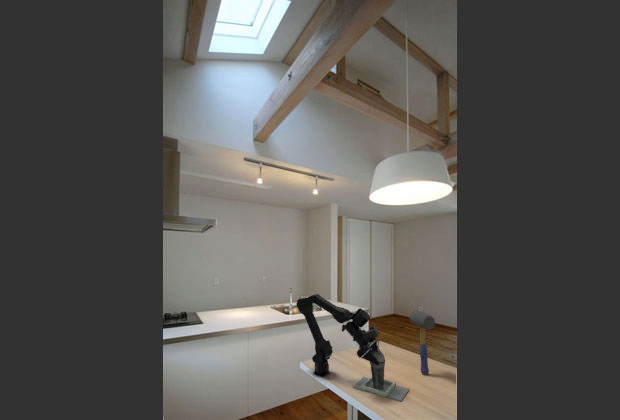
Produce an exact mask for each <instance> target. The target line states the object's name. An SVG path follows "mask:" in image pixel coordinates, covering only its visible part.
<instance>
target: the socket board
mask: <svg viewBox="0 0 620 420" xmlns="http://www.w3.org/2000/svg"><path fill="white" fill-rule="evenodd" d="M352 388H353V389H356V390H359V391H362V392H366V393H369V394H373V395H376V396H379V397H382V398H386V399H389V400H393V401H397V402H400V403H401V402H402V401H403V400H404V399H405V397H406V396H407V394H408V392H409V391H410V388H407V387H404V386H400V385H397V383H396V381H393V380H387V379H385V378H384V386H383V389H375V388H374V387H373V381H372V375H371V376H369V377H366V376H363V377H362V378H361V379H359V380H358V381H357V382H356V383H354V385H352Z"/></svg>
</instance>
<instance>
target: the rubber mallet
mask: <svg viewBox="0 0 620 420" xmlns="http://www.w3.org/2000/svg"><path fill="white" fill-rule="evenodd" d="M409 321H410V322H411V324H413V325H415V326H417V327H419V335H420V336H419V337H420V338H419V339H420V344H419V357H420V358H419V359H420V373H421V374H422V375H425V376H428V375H429V373H430V370H429V364H428V356H429V353H428V345H427V340H426V337H427V336H426V330H428V331H431V330H432V329H434V327H435V325H436V321H435V319H434V317H433V316H432V315H430V314H427V313H425V312H422V311H417V310H413V311H411V313H410V314H409Z"/></svg>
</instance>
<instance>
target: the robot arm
mask: <svg viewBox="0 0 620 420" xmlns="http://www.w3.org/2000/svg"><path fill="white" fill-rule="evenodd" d="M314 304H316V305H317V306H318V307H320V308H321V309H323V310H325V311H326V312H327V313H328V314H331V316H332V317H333V319H334V320H335V321H336V322H337V323H338V324H342V325H341V332H343V333H344V331H346V332H347V333H348V334H349V335H350V337H352V341H353V342H355V343H356V344H357V345H358V349H357V350H356V357H358V358H359V359H360V358H361V359H363V360H366V361H368V362H369V363H370V362H372V363H374V364H376V365H379V362H378V361H377V359H376V358H375V356H374V355H373V353H372V352H373V351H375V350H378V337H379V335H380V333H379V329H378V328H377V327H376V326H374V325H372V326H370V327H369V329H368V330H367V331H366V330H365V329H362V328H363V327H364V326H365V325H366V324H367V323H368V322H369V321H370V320H371V316H370V314H369V313H368V312H366V310H364V309H362V308H361V307H360V308H358V309H357V310H356V312H351V311H350V310H349V309H347V308H345V307H342V306H337V305H336V304H334V303H332V302H330V301H329V300H327V299H325V298H324V297H322V296H321V295H320V294H318V293H316V294H312V295H310V296H305V297H301V298H298V299H297V300H296V305H295V306H296V308H297V309H298V312H300V314H302V315H303V316H304V318H305V321H306V323H307V326H308V329H309V330H310V333H311V336H312V339H313V340H314V341H313V342H314V343H315V344H314V351H315V354H314V355H313V356H311V360H312V363H314V371H313V372H312V374H313V375H316V376H319V377H322V378H323V377H326V376H327V375H328V374H330V373H331V371H330V364H329V360H330V358H331V357H332V355H333V351H334V350H333V346H332V345H331V341H330V339H328V340H326V339H325V337H324V336H323V333H322V331H321V329H320V326H319V324H318V321H317V318H316V317H315V313H314ZM351 320H352V321H351ZM344 323H345V324H344ZM379 351H380V352H382V351H381V350H380V348H379Z"/></svg>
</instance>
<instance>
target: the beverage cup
mask: <svg viewBox="0 0 620 420" xmlns="http://www.w3.org/2000/svg"><path fill="white" fill-rule="evenodd" d="M377 345H378V350H375V351H373V352H372V353H373V355H374V356H375V358H376V359H377V361H378V362H379V365H376V364H374V363H372V362H370V361H369V364H370V371H371V376H372V381H373V387H374V388H375V389H383V386H384V379H385V366H386V359H385V357H386V356H385V355H384V353H383V352H382V351H381V350H380V351H381V352H380V351H379V349H380V348H379V347H380V340H378V339H377Z"/></svg>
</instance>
